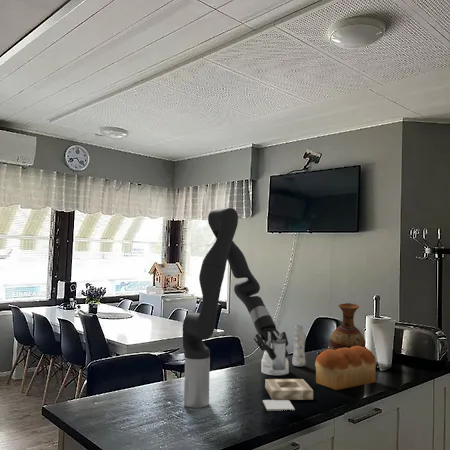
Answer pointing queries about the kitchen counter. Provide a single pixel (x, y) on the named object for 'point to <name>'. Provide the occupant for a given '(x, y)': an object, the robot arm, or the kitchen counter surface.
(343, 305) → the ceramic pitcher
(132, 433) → the kitchen counter surface
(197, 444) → the kitchen counter surface
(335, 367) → the bread
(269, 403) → the grey rubber pad
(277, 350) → the steel plug
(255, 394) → the kitchen counter surface
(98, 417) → the kitchen counter surface
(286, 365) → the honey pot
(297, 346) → the plastic bottle
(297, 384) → the frame
